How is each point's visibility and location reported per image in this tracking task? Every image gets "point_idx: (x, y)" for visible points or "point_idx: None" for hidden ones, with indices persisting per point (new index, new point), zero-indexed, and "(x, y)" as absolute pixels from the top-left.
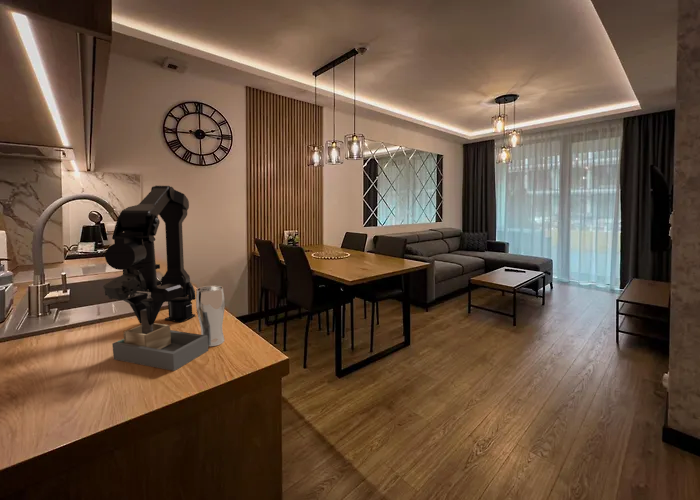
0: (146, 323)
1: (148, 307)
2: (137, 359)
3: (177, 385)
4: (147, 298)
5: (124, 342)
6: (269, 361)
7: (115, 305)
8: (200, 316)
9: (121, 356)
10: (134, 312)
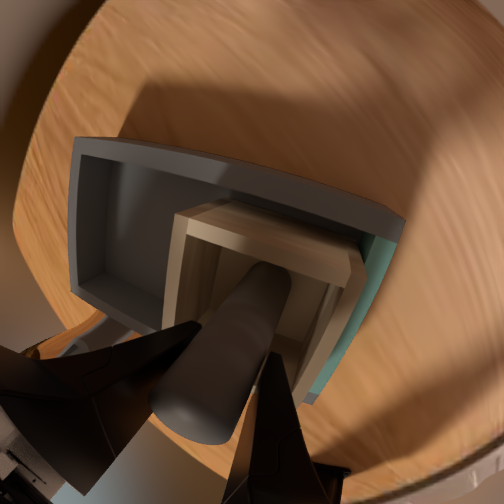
0: (207, 324)
1: (72, 372)
2: (250, 164)
3: (87, 82)
4: (6, 425)
5: (359, 253)
6: (17, 217)
7: (472, 485)
8: (59, 355)
9: (344, 192)
10: (294, 417)
